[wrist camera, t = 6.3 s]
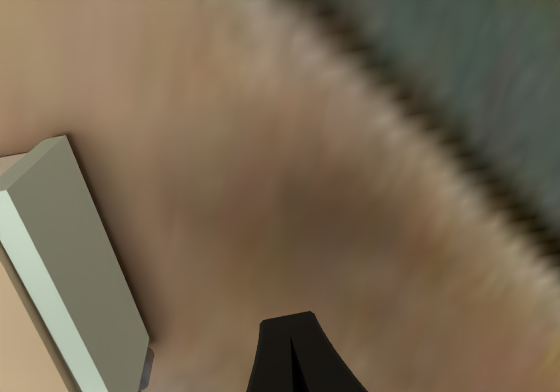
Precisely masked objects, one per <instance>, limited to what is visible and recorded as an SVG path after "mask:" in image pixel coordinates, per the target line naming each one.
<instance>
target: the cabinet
mask: <svg viewBox="0 0 560 392" xmlns="http://www.w3.org/2000/svg"><path fill="white" fill-rule="evenodd" d="M26 154H27V153H24V154H18V155H12V156H7V157H1V158H0V176H1V175H2V174H3V173H4V172H6V171H7V170H8V169H9V168H10V167H12V166H13V165H14V164H15V163H16V162H18V161H19V160H20V159H21V158H22V157H23V156H25V155H26ZM0 392H82V390H81V388H80V386H79V384H78V382H77V381H76V379H75V377H74V375H73V373H72V371H71V370H70V368H69V366H68V364H67V362H66V360H65V359H64V357H63V355H62V353H61V351H60V349H59V348H58V346H57V344H56V342H55V340H54V338H53V336H52V335H51V333H50V331H49V329H48V327H47V325H46V324H45V322H44V320H43V318H42V316H41V314H40V313H39V311H38V309H37V307H36V305H35V303H34V302H33V300H32V298H31V296H30V294H29V292H28V290H27V289H26V287H25V285H24V283H23V281H22V279H21V278H20V276H19V274H18V272H17V270H16V268H15V267H14V265H13V263H12V261H11V259H10V257H9V255H8V254H7V252H6V250H5V248H4V246H3V244H2V243H1V241H0Z"/></svg>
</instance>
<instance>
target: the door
mask: <svg viewBox="0 0 560 392" xmlns="http://www.w3.org/2000/svg"><path fill="white" fill-rule="evenodd" d="M0 241H1V243H2V244H3V246H4V248H5V250H6V252H7V254H8V255H9V257H10V259H11V261H12V263H13V265H14V267H15V268H16V270H17V272H18V274H19V276H20V278H21V279H22V281H23V283H24V285H25V287H26V289H27V290H28V292H29V294H30V296H31V298H32V300H33V302H34V303H35V305H36V307H37V309H38V311H39V313H40V314H41V316H42V318H43V320H44V322H45V324H46V325H47V327H48V329H49V331H50V333H51V335H52V336H53V338H54V340H55V342H56V344H57V346H58V348H59V349H60V351H61V353H62V355H63V357H64V359H65V360H66V362H67V364H68V366H69V368H70V370H71V371H72V373H73V375H74V377H75V379H76V381H77V382H78V384H79V386H80V388H81V390H82V392H141V390H143V389H145V388H146V387H147V386H148V384H149V379H150V373H151V368H152V363H153V358H154V352H153V350H152V349H150V348H149V347H148V343H149V336H148V334H147V331H146V329H145V326H144V324H143V321H142V319H141V317H140V314H139V312H138V309H137V307H136V304H135V302H134V300H133V297H132V295H131V292H130V290H129V287H128V285H127V283H126V280H125V278H124V275H123V273H122V271H121V268H120V266H119V263H118V261H117V258H116V256H115V254H114V251H113V249H112V246H111V244H110V241H109V239H108V237H107V234H106V232H105V229H104V227H103V224H102V222H101V220H100V217H99V215H98V212H97V210H96V207H95V205H94V203H93V200H92V198H91V195H90V193H89V190H88V188H87V186H86V183H85V181H84V178H83V176H82V174H81V171H80V169H79V166H78V164H77V161H76V159H75V157H74V154H73V152H72V149H71V147H70V144H69V142H68V140H67V137H66V135H63V136H58V137H53V138H48V139H44V140H43V141H41V142H40V143H39V144H38V145H37V146H35V147H34V148H33V149H32V150H31V151H29V152H28V153H27V154H26V155H25V156H23V157H22V158H21V159H20V160H19V161H18V162H16V163H15V164H14V165H13V166H12V167H10V168H9V169H8V170H7V171H6V172H4V173H3V174H2V175H1V176H0Z"/></svg>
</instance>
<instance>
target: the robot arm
mask: <svg viewBox="0 0 560 392" xmlns="http://www.w3.org/2000/svg"><path fill="white" fill-rule="evenodd" d="M246 392H368V391H367V390H366V389H365V388H364V387H363V386H362V384H361V383H360V382H359V381H358V379H357V378H356V377H355V376H354V374H353V373H352V372H351V370H350V369H349V368H348V367H347V365H346V364H345V363H344V361H343V360H342V359H341V357H340V356H339V354H338V353H337V352H336V350H335V349H334V347H333V346H332V344H331V343H330V341H329V340H328V338H327V337H326V335H325V333H324V332H323V330H322V328H321V326H320V324H319V322H318V321H317V318H316V316H315V314H314V313H312V312H311V311H307V312H302V313H297V314H292V315H287V316H282V317H277V318H271V319H266V320H263V321H262V322H261V323H260V331H259V340H258V346H257V351H256V356H255V361H254V365H253V369H252V373H251V376H250V380H249V384H248V388H247V391H246Z"/></svg>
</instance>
